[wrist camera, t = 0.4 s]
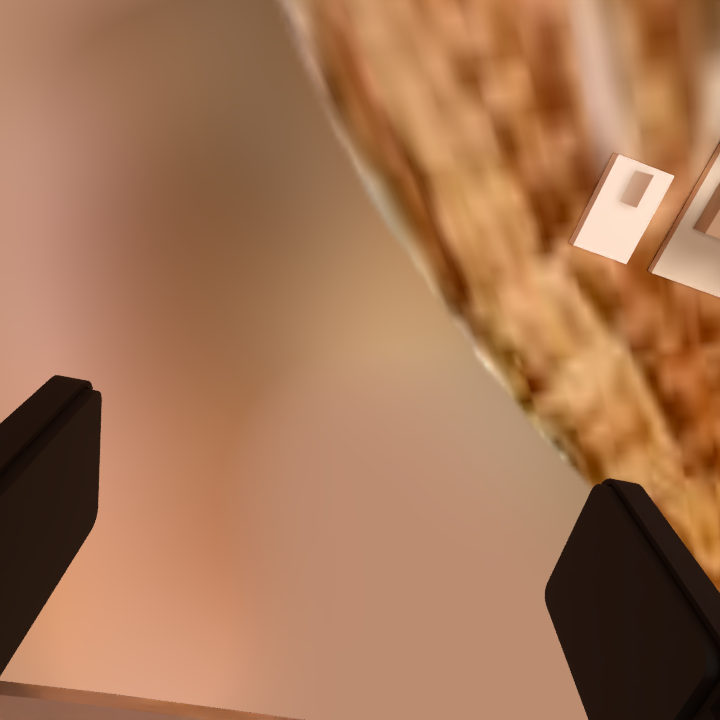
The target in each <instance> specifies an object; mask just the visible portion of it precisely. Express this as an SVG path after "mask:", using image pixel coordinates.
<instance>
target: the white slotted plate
mask: <svg viewBox="0 0 720 720" xmlns="http://www.w3.org/2000/svg"><path fill="white" fill-rule="evenodd" d="M673 178H674V176H673V175H671V174H668V173H665V172H663V171H660V170H658V169H655V168H653V167H650V166H647V165H645V164H642V163H640V162H637V161H635V160H632V159H629V158H627V157H624V156H622V155H619V154H615V153H613V155H612V157H611V159H610V161H609V163H608V165H607V167H606V169H605V171H604V173H603V175H602V177H601V179H600V181H599V183H598V185H597V187H596V189H595V191H594V193H593V195H592V197H591V199H590V201H589V203H588V205H587V207H586V209H585V211H584V213H583V215H582V217H581V219H580V221H579V223H578V225H577V227H576V229H575V231H574V233H573V235H572V237H571V239H570V241H569V243H571V244H572V245H574V246H577V247H580V248H583V249H585V250H588V251H591V252H594V253H597V254H599V255H602V256H605V257H608V258H611V259H613V260H616V261H619V262H622V263H625V264H627V262H628V260H629V258H630V256H631V255H632V253H633V251H634V249H635V247H636V246H637V244H638V242H639V240H640V238H641V236H642V235H643V233H644V231H645V229H646V227H647V225H648V224H649V222H650V220H651V218H652V216H653V215H654V213H655V211H656V209H657V207H658V205H659V204H660V202H661V200H662V198H663V196H664V194H665V193H666V191H667V189H668V187H669V185H670V184H671V182H672V180H673Z"/></svg>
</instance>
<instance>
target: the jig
mask: <svg viewBox="0 0 720 720" xmlns="http://www.w3.org/2000/svg"><path fill="white" fill-rule="evenodd" d="M648 271H649V272H651V273H653V274H656V275H659V276H662V277H665V278H667V279H670V280H673V281H676V282H678V283H681V284H684V285H687V286H690V287H692V288H695V289H698V290H701V291H703V292H706V293H709V294H712V295H715V296H717V297H720V143H719V145H718V147H717V149H716V150H715V152H714V154H713V156H712V157H711V159H710V161H709V163H708V164H707V166H706V168H705V170H704V172H703V173H702V175H701V177H700V179H699V180H698V182H697V184H696V186H695V187H694V189H693V191H692V193H691V194H690V196H689V198H688V200H687V202H686V203H685V205H684V207H683V209H682V210H681V212H680V214H679V216H678V217H677V219H676V221H675V223H674V224H673V226H672V228H671V230H670V232H669V233H668V235H667V237H666V239H665V240H664V242H663V244H662V246H661V247H660V249H659V251H658V253H657V254H656V256H655V258H654V260H653V262H652V263H651V265H650V267H649V269H648Z"/></svg>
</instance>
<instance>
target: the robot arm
mask: <svg viewBox="0 0 720 720" xmlns="http://www.w3.org/2000/svg"><path fill="white" fill-rule="evenodd" d="M92 389H93V387H92V384H91V383H90V382H89V381H86V380H81V379H75V378H70V377H64V376H59V375H55V376H53V377H52V378H50V379H49V380H48V381H47V382H46V383H45V384H44V385H43V386H42V387H40V388H39V389H38V390H37V391H36V392H35V393H34V394H33V395H32V396H31V397H29V399H27V400H26V401H25V402H24V403H23V404H22V405H21V406H19V407H18V408H17V409H16V410H15V411H14V412H13V413H12V414H10V415H9V416H8V417H7V418H6V419H5V420H4V421H3V422H2V423H0V675H1V674H2V672H3V671H4V669H5V668H6V666H7V664H8V663H9V661H10V660H11V658H12V656H13V655H14V653H15V652H16V650H17V648H18V647H19V645H20V644H21V642H22V640H23V639H24V637H25V636H26V634H27V632H28V631H29V629H30V628H31V625H32V624H33V623H34V621H35V620H36V618H37V616H38V615H39V613H40V611H41V610H42V608H43V606H44V605H45V604H46V602H47V600H48V599H49V597H50V595H51V594H52V592H53V591H54V589H55V587H56V586H57V584H58V583H59V581H60V580H61V578H62V576H63V575H64V573H65V572H66V570H67V568H68V567H69V565H70V563H71V562H72V560H73V559H74V557H75V555H76V554H77V552H78V551H79V549H80V547H81V546H82V544H83V543H84V541H85V539H86V538H87V536H88V535H89V533H90V531H91V530H92V528H93V526H94V523H95V520H96V517H97V512H98V492H99V463H100V432H101V403H102V398H101V393H100V392H99V391H95V390H92ZM545 602H546V606H547V609H548V611H549V614H550V617H551V619H552V622H553V625H554V628H555V630H556V633H557V636H558V638H559V641H560V644H561V646H562V649H563V652H564V655H565V657H566V660H567V662H568V665H569V668H570V671H571V674H572V676H573V679H574V682H575V684H576V687H577V690H578V693H579V695H580V698H581V701H582V703H583V706H584V709H585V711H586V714H587V717H588V720H720V593H719V591H718V590H717V589H716V587H715V586H714V584H713V583H712V582H711V580H710V579H709V578H708V576H707V575H706V574H705V572H704V571H703V569H702V568H701V567H700V565H699V564H698V563H697V561H696V560H695V558H694V557H693V556H692V554H691V553H690V552H689V550H688V549H687V547H686V546H685V545H684V543H683V542H682V541H681V539H680V538H679V537H678V535H677V534H676V532H675V531H674V530H673V528H672V527H671V526H670V524H669V523H668V521H667V520H666V519H665V517H664V516H663V515H662V513H661V512H660V511H659V509H658V508H657V506H656V505H655V504H654V502H653V501H652V500H651V498H650V497H649V495H648V494H647V493H646V491H645V490H644V489H643V487H642V486H640V485H639V484H636V483H631V482H626V481H621V480H615V479H606V480H605V481H603V482H602V484H597V485H595V486H594V487H593V489H592V490H591V492H590V494H589V496H588V499H587V501H586V503H585V505H584V507H583V509H582V511H581V513H580V515H579V517H578V520H577V522H576V524H575V526H574V528H573V530H572V532H571V535H570V536H569V538H568V541H567V543H566V545H565V547H564V549H563V551H562V553H561V556H560V558H559V560H558V562H557V564H556V566H555V568H554V570H553V572H552V574H551V576H550V579H549V581H548V583H547V586H546V589H545ZM0 720H303V719H295V718H288V717H281V716H273V715H266V714H258V713H251V712H243V711H236V710H229V709H221V708H214V707H206V706H199V705H191V704H184V703H176V702H168V701H161V700H154V699H146V698H139V697H131V696H124V695H116V694H108V693H100V692H92V691H83V690H74V689H66V688H58V687H49V686H40V685H31V684H23V683H14V682H6V681H0Z"/></svg>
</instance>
